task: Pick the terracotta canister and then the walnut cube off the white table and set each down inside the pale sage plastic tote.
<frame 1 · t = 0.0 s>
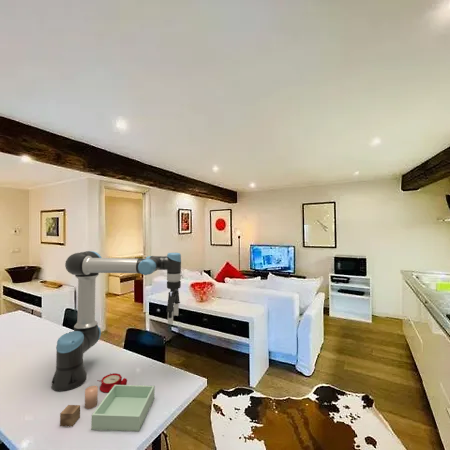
hand: (173, 319, 143), 28 cm above the table, fingers open, 13 cm apart
alarm clock: (113, 388, 126), on the table
tote: (125, 412, 109), on the table
walnut cube: (70, 421, 104), on the table
terracotta canister: (91, 405, 114), on the table
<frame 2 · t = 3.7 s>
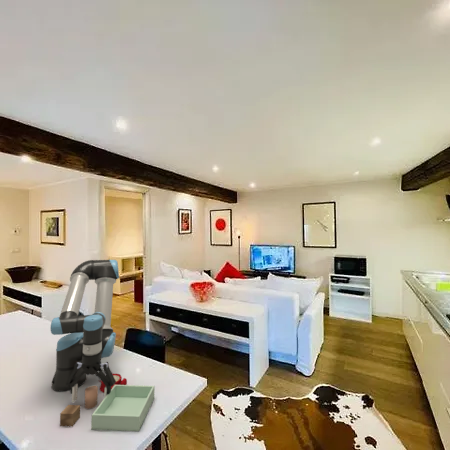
hand: (90, 401, 113), 2 cm above the table, fingers open, 13 cm apart
nothing on the table moved.
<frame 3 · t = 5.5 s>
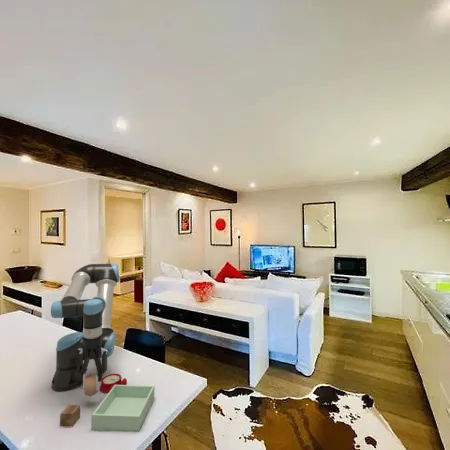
hand: (91, 387, 114), 7 cm above the table, fingers closed on terracotta canister, 5 cm apart
terracotta canister: (91, 392, 114), point 5 cm above the table, touching gripper
everything else where it was.
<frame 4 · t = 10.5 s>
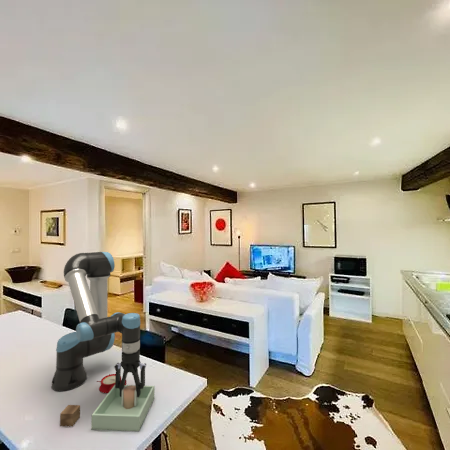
hand: (129, 403, 113), 1 cm above the table, fingers closed on terracotta canister, 5 cm apart
terracotta canister: (129, 404, 113), point 1 cm above the table, touching gripper, tote
everything else where it was.
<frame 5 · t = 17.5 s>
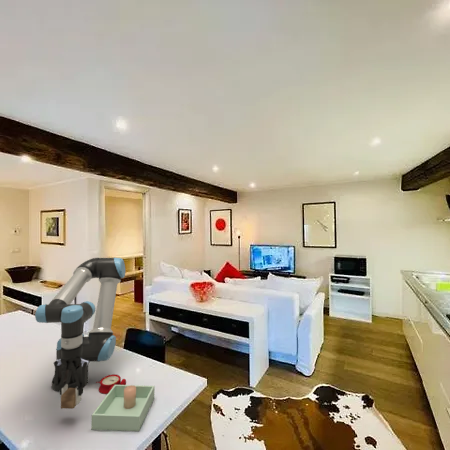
hand: (71, 402, 105), 7 cm above the table, fingers closed on walnut cube, 5 cm apart
walnut cube: (71, 404, 104), point 7 cm above the table, touching gripper
terracotta canister: (129, 404, 113), point 1 cm above the table, touching tote
everything else where it was.
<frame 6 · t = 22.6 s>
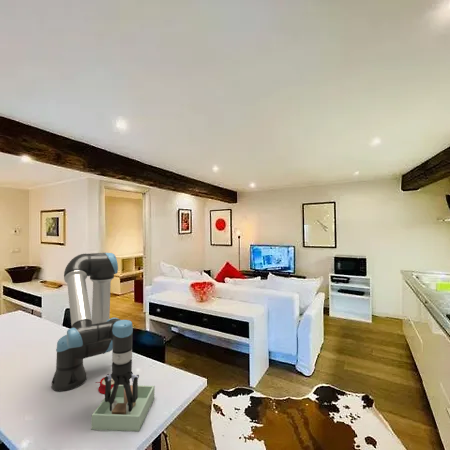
hand: (121, 418, 104), 1 cm above the table, fingers closed on tote, walnut cube, 5 cm apart
walnut cube: (120, 419, 104), point 1 cm above the table, touching gripper, tote
when the fingers open (1 cm above the table, at t = 23.3 s): walnut cube stays where it is, resting on tote.
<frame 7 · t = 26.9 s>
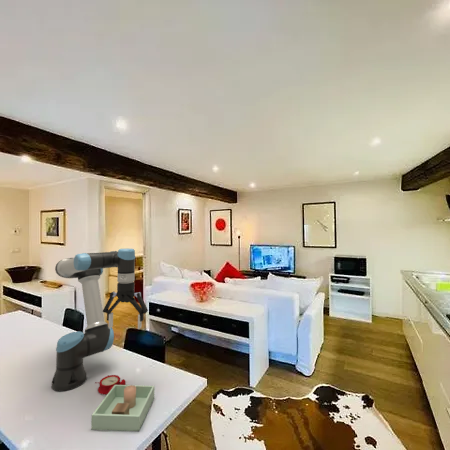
hand: (125, 327, 120), 32 cm above the table, fingers open, 13 cm apart
walnut cube: (120, 419, 104), point 1 cm above the table, touching tote
at the end: terracotta canister inside the target area on the tote (3.9 cm from its centre), point 0.6 cm above the tote's base; walnut cube inside the target area on the tote (5.0 cm from its centre), point 0.6 cm above the tote's base; the gripper is holding nothing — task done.
